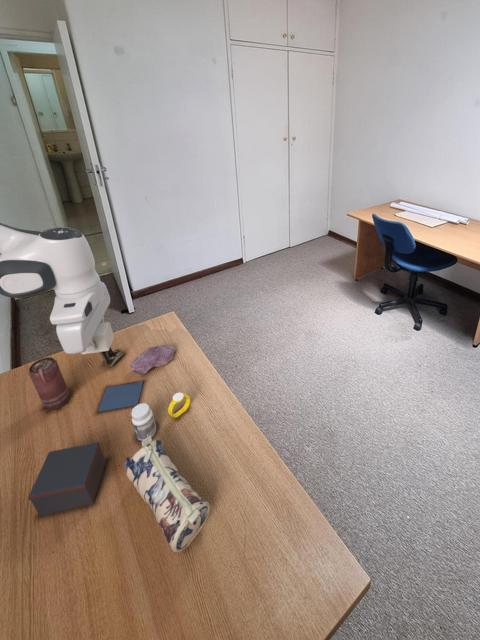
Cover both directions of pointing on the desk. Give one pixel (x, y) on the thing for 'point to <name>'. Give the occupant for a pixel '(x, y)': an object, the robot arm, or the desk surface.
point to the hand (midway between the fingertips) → (96, 340)
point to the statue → (111, 357)
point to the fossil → (152, 358)
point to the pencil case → (167, 494)
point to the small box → (102, 338)
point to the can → (49, 383)
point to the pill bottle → (143, 421)
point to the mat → (121, 396)
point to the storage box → (68, 479)
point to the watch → (176, 399)
